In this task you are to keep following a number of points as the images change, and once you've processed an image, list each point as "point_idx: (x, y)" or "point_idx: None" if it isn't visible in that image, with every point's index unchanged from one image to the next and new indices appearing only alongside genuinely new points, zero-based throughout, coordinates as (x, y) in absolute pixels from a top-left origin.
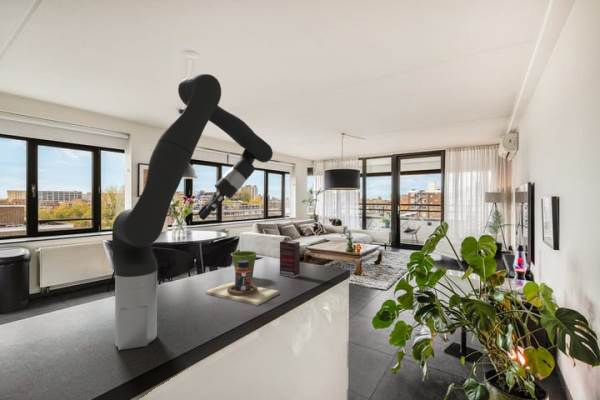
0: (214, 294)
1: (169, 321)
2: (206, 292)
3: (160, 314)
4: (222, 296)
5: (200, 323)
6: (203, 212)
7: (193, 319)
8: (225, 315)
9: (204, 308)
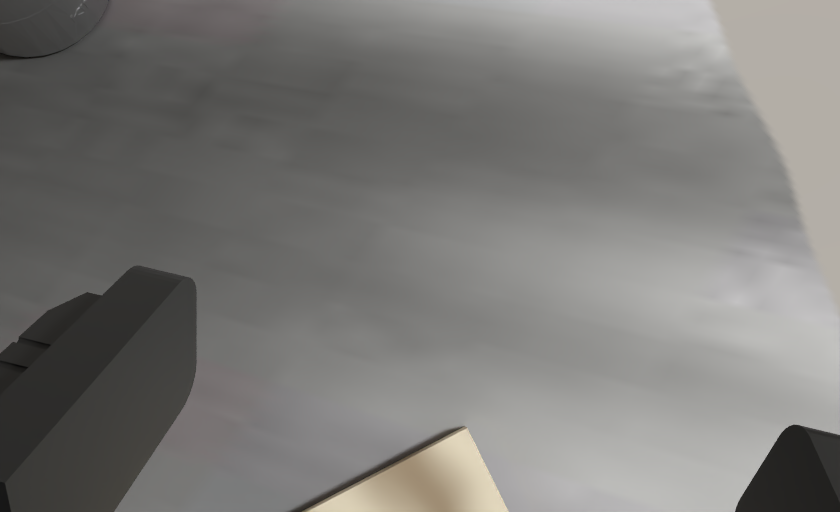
0: (391, 466)
1: (146, 138)
2: (457, 432)
3: (269, 120)
4: (325, 500)
5: (20, 257)
6: (54, 370)
7: (94, 242)
8: None
9: (211, 339)
